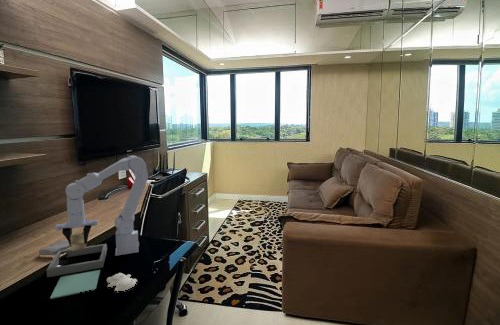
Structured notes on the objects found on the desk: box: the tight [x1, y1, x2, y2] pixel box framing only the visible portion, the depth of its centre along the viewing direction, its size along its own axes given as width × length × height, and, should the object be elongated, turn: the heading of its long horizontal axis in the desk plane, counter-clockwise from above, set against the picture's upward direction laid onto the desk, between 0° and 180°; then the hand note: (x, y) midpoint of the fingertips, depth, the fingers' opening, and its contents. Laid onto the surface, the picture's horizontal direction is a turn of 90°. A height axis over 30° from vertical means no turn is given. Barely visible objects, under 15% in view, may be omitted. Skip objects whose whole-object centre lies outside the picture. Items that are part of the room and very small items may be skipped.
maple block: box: [70, 231, 87, 251], centre depth 107 cm, size 4×4×6 cm
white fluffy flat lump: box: [106, 272, 138, 293], centre depth 94 cm, size 9×12×3 cm
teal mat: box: [49, 269, 101, 300], centre depth 93 cm, size 13×13×1 cm
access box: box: [46, 243, 108, 278], centre depth 108 cm, size 18×16×3 cm
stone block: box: [38, 239, 71, 255], centre depth 117 cm, size 12×5×10 cm
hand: (78, 244), depth 107 cm, fingers closed on maple block, 4 cm apart
